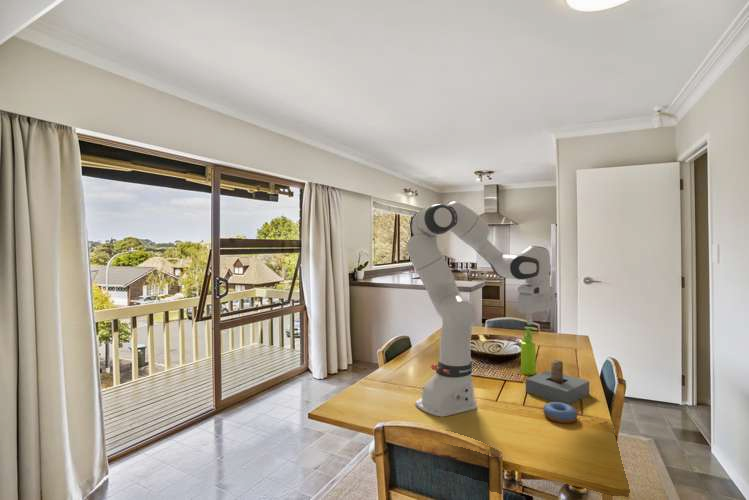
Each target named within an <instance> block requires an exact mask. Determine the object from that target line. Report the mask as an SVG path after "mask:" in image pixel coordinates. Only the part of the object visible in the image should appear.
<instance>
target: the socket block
mask: <svg viewBox="0 0 749 500" xmlns="http://www.w3.org/2000/svg"><path fill="white" fill-rule="evenodd" d="M525 393H529V394H531V395H535V396H537V397H539V398H543V399H546V400H549V401H551V402H561V403H565V404H568V405H570V406H571V404H573V403H575V402H578V401H579V400H581V399H583V398H585V397H588V396H589V395H590V381H589V380H586V379H582V378H578V377H576V376H571V375H568V374H564V373H563V383H562V384H559V383H555V382H552V381H551V369H550V370H549V369H547V370H545V371H543V372H540V373H537V374H534V375H530V376H529V377H526V378H525Z"/></svg>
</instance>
